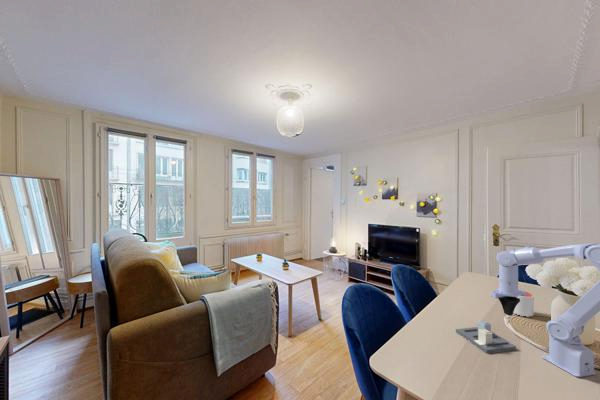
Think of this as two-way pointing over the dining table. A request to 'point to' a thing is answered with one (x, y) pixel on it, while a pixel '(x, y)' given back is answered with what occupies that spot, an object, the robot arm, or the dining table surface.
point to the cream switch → (485, 336)
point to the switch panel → (496, 345)
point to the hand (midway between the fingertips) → (508, 314)
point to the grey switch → (484, 325)
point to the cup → (525, 305)
